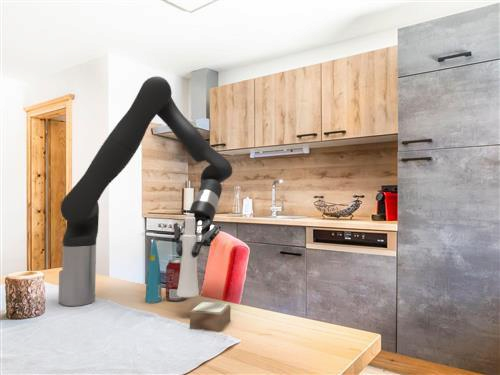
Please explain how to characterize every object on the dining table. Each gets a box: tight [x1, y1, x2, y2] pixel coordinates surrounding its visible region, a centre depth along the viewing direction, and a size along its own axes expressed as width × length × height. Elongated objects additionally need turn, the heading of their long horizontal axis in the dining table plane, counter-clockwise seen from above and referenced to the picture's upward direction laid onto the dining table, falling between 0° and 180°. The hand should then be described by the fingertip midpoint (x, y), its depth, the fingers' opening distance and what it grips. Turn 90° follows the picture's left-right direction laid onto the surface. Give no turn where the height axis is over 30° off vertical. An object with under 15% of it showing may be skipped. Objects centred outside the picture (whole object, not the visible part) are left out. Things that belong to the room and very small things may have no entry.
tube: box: [144, 237, 163, 304], centre depth 113 cm, size 7×5×19 cm, turn 23°
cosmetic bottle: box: [177, 212, 200, 298], centre depth 100 cm, size 6×6×22 cm
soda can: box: [165, 258, 188, 302], centre depth 116 cm, size 7×7×12 cm
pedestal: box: [189, 301, 232, 332], centre depth 93 cm, size 8×8×4 cm
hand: (186, 254), depth 98 cm, fingers closed on cosmetic bottle, 3 cm apart
